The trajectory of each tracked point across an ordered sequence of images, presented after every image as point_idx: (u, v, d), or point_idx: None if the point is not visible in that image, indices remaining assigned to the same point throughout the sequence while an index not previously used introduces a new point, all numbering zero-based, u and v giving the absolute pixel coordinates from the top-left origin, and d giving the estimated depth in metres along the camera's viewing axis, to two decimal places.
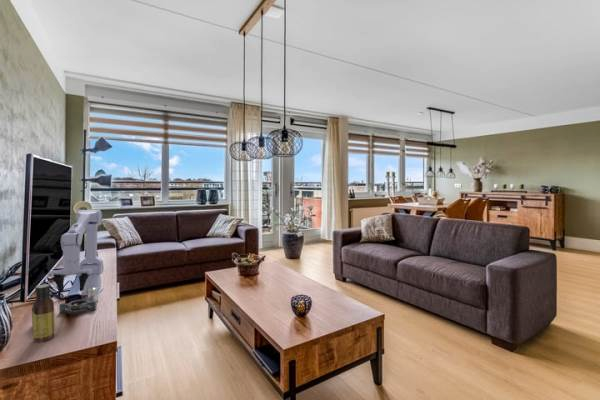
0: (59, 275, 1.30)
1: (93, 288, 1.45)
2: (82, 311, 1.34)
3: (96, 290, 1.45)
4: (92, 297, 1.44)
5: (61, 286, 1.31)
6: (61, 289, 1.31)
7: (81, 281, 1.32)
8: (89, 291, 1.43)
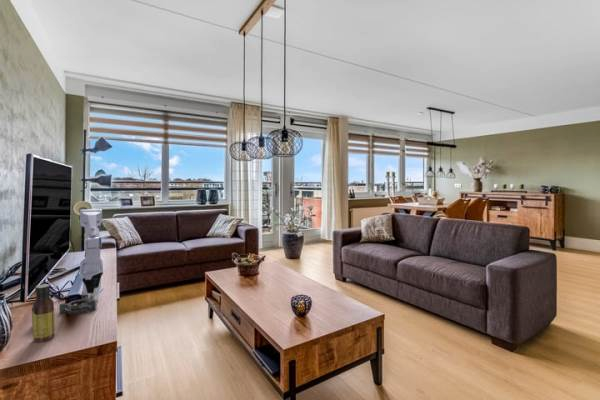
0: None
1: None
2: (82, 311, 1.34)
3: (96, 290, 1.45)
4: (92, 297, 1.44)
5: (94, 283, 1.49)
6: None
7: None
8: None
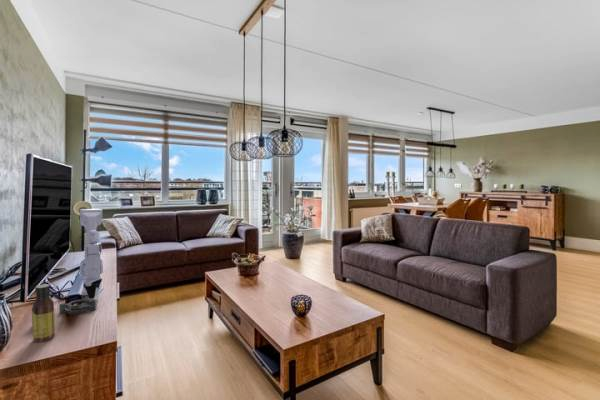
0: None
1: None
2: (82, 311, 1.34)
3: (96, 290, 1.45)
4: None
5: None
6: None
7: None
8: None
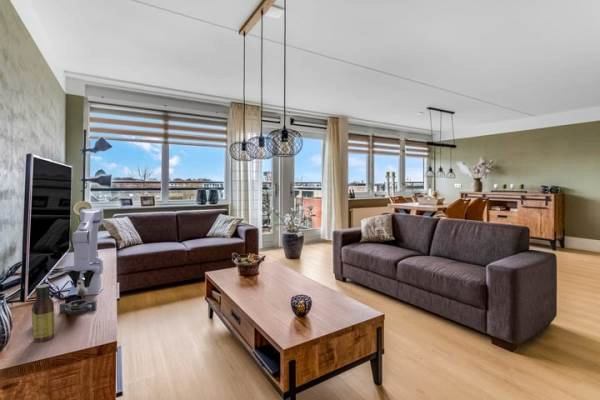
0: (71, 271, 1.36)
1: (82, 278, 1.38)
2: (82, 311, 1.34)
3: None
4: None
5: (76, 282, 1.37)
6: (76, 284, 1.37)
7: (86, 278, 1.36)
8: (84, 281, 1.36)
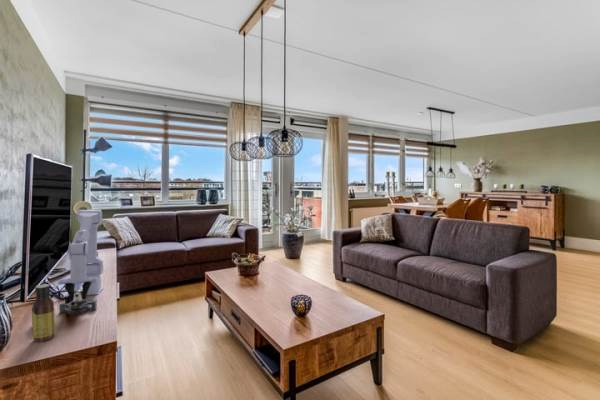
0: (66, 284, 1.33)
1: (79, 290, 1.36)
2: (82, 311, 1.34)
3: None
4: None
5: (72, 294, 1.34)
6: (72, 297, 1.34)
7: (84, 289, 1.34)
8: (82, 293, 1.35)
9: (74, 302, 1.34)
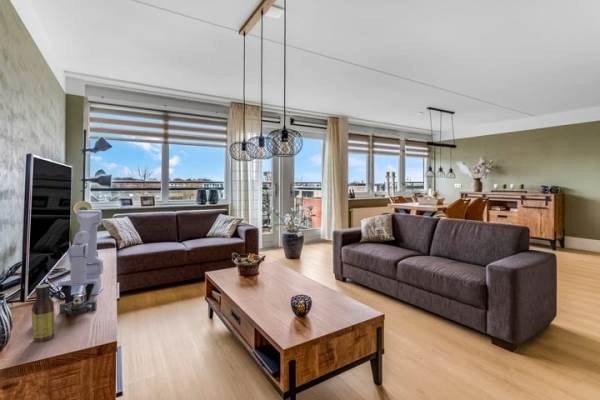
0: (66, 286, 1.33)
1: (79, 295, 1.36)
2: (82, 311, 1.34)
3: None
4: (83, 303, 1.36)
5: (69, 297, 1.34)
6: (69, 300, 1.34)
7: (87, 291, 1.35)
8: (81, 298, 1.35)
9: None
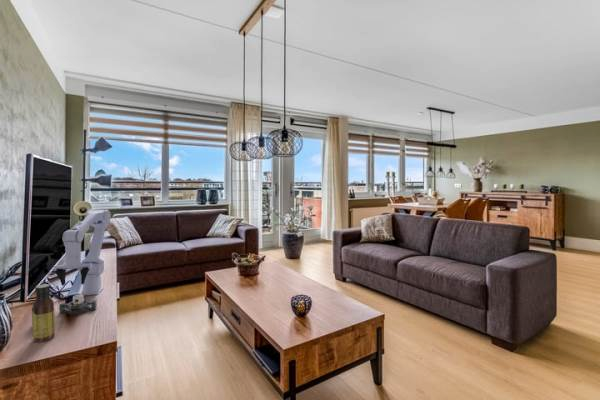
0: (61, 269, 1.40)
1: (79, 295, 1.36)
2: (82, 311, 1.34)
3: None
4: (83, 303, 1.36)
5: (63, 280, 1.40)
6: (63, 282, 1.40)
7: (83, 275, 1.41)
8: (81, 298, 1.35)
9: None
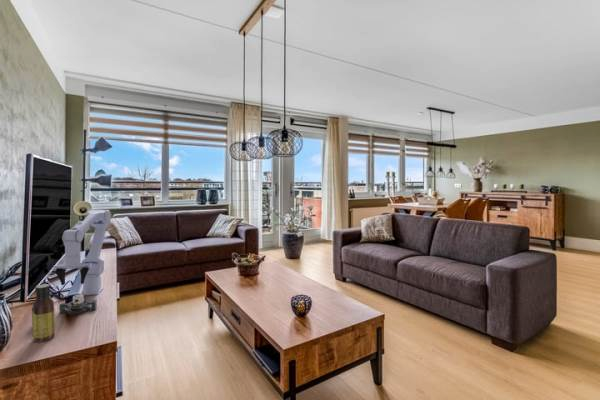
0: (61, 269, 1.40)
1: (79, 295, 1.36)
2: (82, 311, 1.34)
3: None
4: (83, 303, 1.36)
5: (63, 279, 1.41)
6: (63, 282, 1.40)
7: (82, 274, 1.42)
8: (81, 298, 1.35)
9: None
